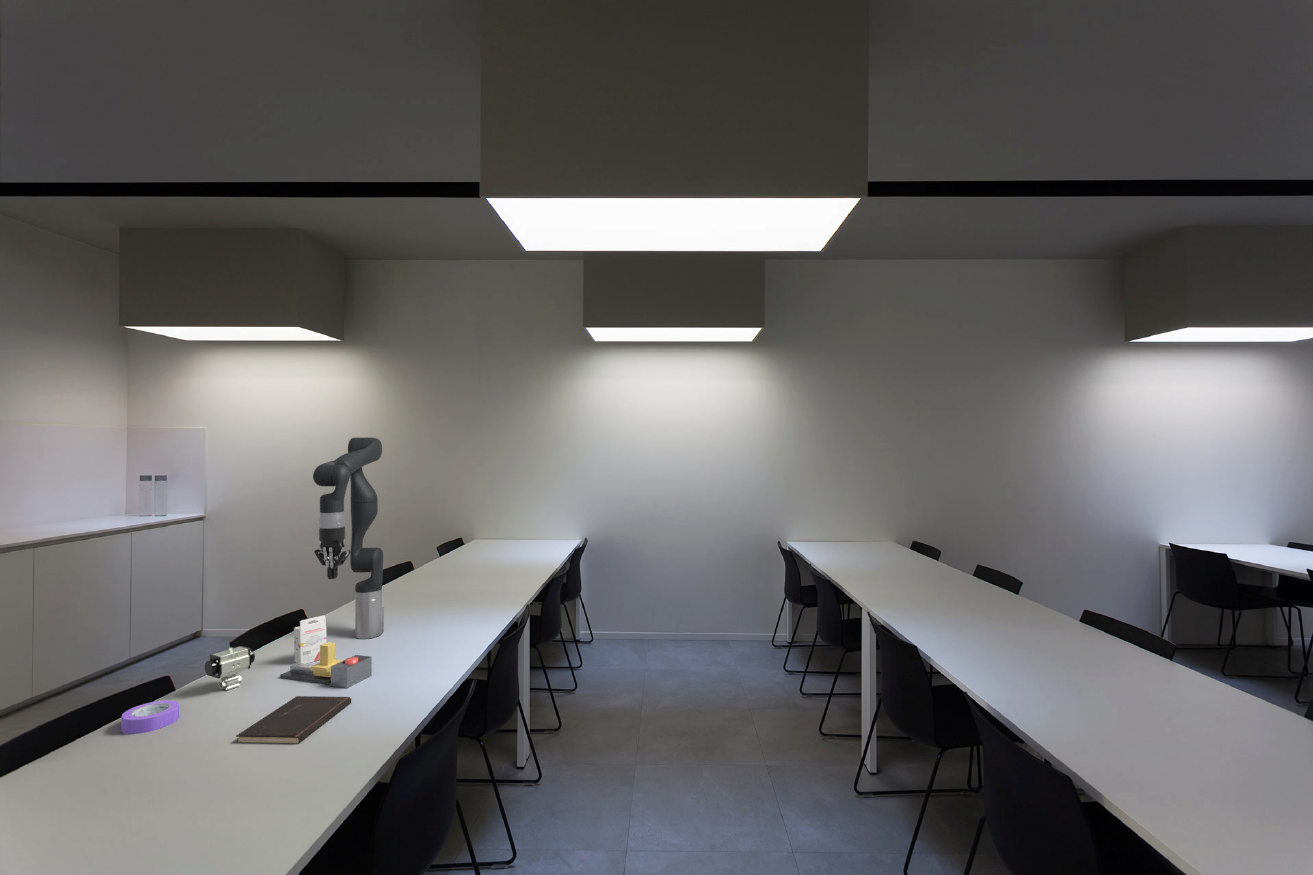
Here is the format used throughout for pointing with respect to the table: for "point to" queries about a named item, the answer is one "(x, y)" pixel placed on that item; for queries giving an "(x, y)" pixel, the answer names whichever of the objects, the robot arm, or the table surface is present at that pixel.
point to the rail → (304, 674)
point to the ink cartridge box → (309, 640)
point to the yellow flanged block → (325, 660)
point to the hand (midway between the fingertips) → (332, 578)
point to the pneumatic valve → (229, 666)
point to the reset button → (351, 660)
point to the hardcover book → (294, 720)
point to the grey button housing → (351, 672)
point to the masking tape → (150, 717)
